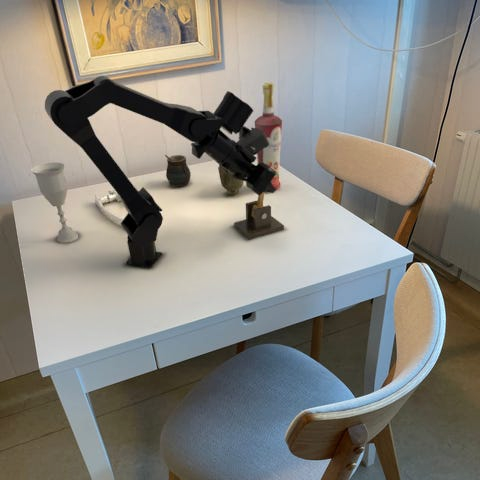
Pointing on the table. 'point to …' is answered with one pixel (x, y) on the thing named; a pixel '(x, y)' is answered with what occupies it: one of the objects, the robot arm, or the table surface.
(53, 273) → the table surface
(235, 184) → the cup
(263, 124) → the liquor
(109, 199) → the door handle
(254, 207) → the lever
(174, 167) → the mate gourd
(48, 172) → the chalice
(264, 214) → the bracket
